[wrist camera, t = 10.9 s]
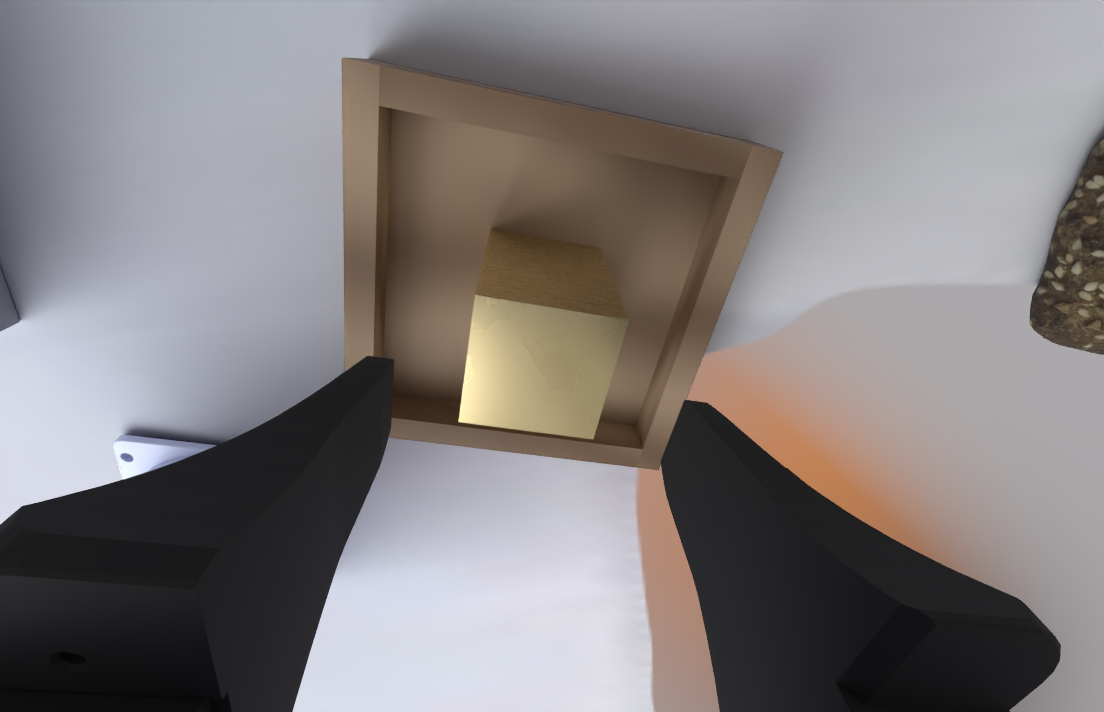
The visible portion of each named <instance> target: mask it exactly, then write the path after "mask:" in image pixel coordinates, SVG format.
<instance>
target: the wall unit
mask: <svg viewBox="0 0 1104 712" xmlns="http://www.w3.org/2000/svg"><path fill="white" fill-rule="evenodd" d="M18 322H20V320H19V318H18V315H17V312H16V309H15V306H14V304H13V301H12V298H11V295H10V293H9V290H8V287H7V284H6V282H5V279H4V276H3V273H2V271H1V268H0V331H2V330H4V329H6V328H8V327H10V326H12V325H14V324H16V323H18Z"/></svg>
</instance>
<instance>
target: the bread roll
mask: <svg viewBox="0 0 1104 712" xmlns="http://www.w3.org/2000/svg"><path fill="white" fill-rule="evenodd" d="M1030 325H1031V326H1032V328H1033V329H1034V330H1035V331H1036V332H1037V333H1038V334H1040V335H1041V336H1043V338H1046V339H1048V340H1050V341H1051V342H1053V343H1056V344H1058V345H1062V346H1066V347H1071V348H1076V349H1079V350H1084V351H1088V352H1091V353H1097V354H1102V355H1103V354H1104V138H1103V139H1101V140H1100V141H1099V142H1098V143H1097V144H1096V145H1095V146H1094V148H1093V149H1092V150H1091V153H1090V155H1089V157H1088V159H1087V162H1086V164H1085V166H1084V168H1083V171H1082V173H1081V175H1080V177H1079V180H1078V182H1077V184H1076V186H1075V188H1074V191H1073V193H1072V195H1071V197H1070V198H1069V200H1068V202H1067V204H1066V205H1065V207H1064V209H1063V210H1062V212H1061V214H1060V216H1059V217H1058V220H1057V224H1056V227H1055V230H1054V234H1053V237H1052V241H1051V245H1050V250H1049V255H1048V258H1047V262H1046V266H1045V269H1044V272H1043V274H1042V277H1041V280H1040V282H1039V284H1038V286H1037V288H1036V290H1035V291H1034V293H1033V296H1032V301H1031V307H1030Z"/></svg>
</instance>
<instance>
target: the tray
mask: <svg viewBox="0 0 1104 712" xmlns="http://www.w3.org/2000/svg"><path fill="white" fill-rule="evenodd" d="M342 119H343V214H344V309H345V371H347V370H348V369H349V368H351V367H352V366H353V365H355V364H356V363H358V362H359V361H361V360H362V359H363V358H365V357H366V356H375V357H382V358H389V359H394V376H393V398H392V420H391V430H390V434H389V437H390V438H398V439H406V440H415V441H423V442H431V443H439V444H448V445H456V446H464V447H472V448H481V449H489V450H497V451H505V452H514V453H522V454H530V455H538V456H547V457H555V458H563V459H571V460H580V461H588V462H596V463H604V464H613V465H621V466H629V467H638V468H647V469H654V470H659V468H660V465H661V459H662V456H663V453H664V451H665V448H666V446H667V443H668V441H669V438H670V435H671V433H672V430H673V428H674V425H675V423H676V420H677V417H678V415H679V412H680V410H681V407H682V405H683V402H684V400H686V399H687V396H688V394H689V391H690V389H691V386H692V384H693V381H694V379H695V376H696V373H697V371H698V368H699V366H700V363H701V361H702V358H703V356H704V353H705V351H706V348H707V345H708V343H709V340H710V338H711V335H712V333H713V330H714V328H715V325H716V323H717V320H718V317H719V315H720V312H721V310H722V307H723V305H724V302H725V300H726V297H727V294H728V292H729V289H730V287H731V284H732V282H733V279H734V277H735V274H736V272H737V269H738V266H739V264H740V261H741V259H742V256H743V254H744V251H745V249H746V246H747V244H748V241H749V238H750V236H751V233H752V231H753V228H754V226H755V223H756V221H757V218H758V215H759V213H760V210H761V208H762V205H763V203H764V200H765V198H766V195H767V193H768V190H769V187H770V185H771V182H772V180H773V177H774V175H775V172H776V170H777V167H778V165H779V162H780V159H781V157H782V154H783V152H781V151H778V150H775V149H772V148H769V147H766V146H763V145H760V144H757V143H754V142H750V141H746V140H741V139H736V138H732V137H727V136H723V135H718V134H713V133H709V132H704V131H699V130H695V129H690V128H685V127H681V126H676V125H671V124H667V123H662V122H657V121H653V120H648V119H643V118H639V117H634V116H630V115H625V114H620V113H616V112H611V111H606V110H602V109H597V108H592V107H588V106H583V105H578V104H574V103H569V102H564V101H560V100H555V99H551V98H546V97H541V96H537V95H532V94H527V93H523V92H518V91H513V90H509V89H504V88H499V87H495V86H490V85H485V84H481V83H476V82H472V81H467V80H462V79H458V78H453V77H448V76H444V75H439V74H434V73H430V72H425V71H420V70H416V69H411V68H406V67H402V66H397V65H393V64H388V63H383V62H379V61H374V60H369V59H358V58H342ZM491 228H493V229H499V230H504V231H510V232H515V233H521V234H526V235H532V236H537V237H543V238H548V239H554V240H559V241H565V242H570V243H576V244H581V245H587V246H592V247H598V248H601V251H602V253H603V256H604V258H605V261H606V263H607V266H608V268H609V271H610V273H611V276H612V278H613V281H614V283H615V286H616V288H617V291H618V293H619V296H620V298H621V301H622V303H623V306H624V308H625V311H626V314H627V316H628V319H629V322H628V326H627V329H626V332H625V336H624V339H623V342H622V346H621V349H620V352H619V356H618V359H617V362H616V366H615V369H614V372H613V376H612V379H611V382H610V386H609V389H608V392H607V396H606V399H605V402H604V406H603V409H602V412H601V415H600V419H599V422H598V425H597V429H596V432H595V435H594V439H585V438H578V437H570V436H562V435H554V434H547V433H539V432H531V431H524V430H516V429H508V428H501V427H493V426H485V425H478V424H470V423H462V422H458V421H459V413H460V406H461V398H462V390H463V383H464V375H465V367H466V360H467V352H468V344H469V337H470V329H471V321H472V314H473V306H474V298H475V293H476V288H477V284H478V280H479V276H480V271H481V267H482V263H483V259H484V254H485V250H486V246H487V241H488V237H489V233H490V229H491Z"/></svg>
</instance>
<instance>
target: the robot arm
mask: <svg viewBox="0 0 1104 712" xmlns="http://www.w3.org/2000/svg"><path fill="white" fill-rule="evenodd" d="M393 376H394V359H389V358H382V357H375V356H366V357H365V358H363V359H362V360H361V361H359V362H358V363H356V364H355V365H353V366H352V367H351V368H349V369H348V370H347V371H345V372H344V373H342V374H341V375H340V376H338V377H337V378H335V379H334V380H333V381H331V382H330V383H328V384H327V385H326V386H324V387H323V388H321V389H320V390H318V391H317V392H315V393H314V394H312V395H311V396H309V397H308V398H306V399H305V400H303V401H301V402H300V403H298V404H296V405H295V406H293V407H292V408H290V409H288V410H287V411H285V412H283V413H282V414H280V415H278V416H277V417H275V418H273V419H271V420H269V421H267V422H266V423H264V424H262V425H260V426H258V427H256V428H254V429H252V430H250V431H248V432H246V433H244V434H242V435H240V436H237V437H235V438H233V439H231V440H229V441H227V442H224V443H222V444H219V445H210V444H201V443H192V442H184V441H175V440H166V439H157V438H149V437H140V436H131V435H122V436H120V437H119V438H117V439H116V440H115V441H114V443H113V449H114V453H115V456H116V459H117V462H118V466H119V469H120V472H121V476H122V479H123V480H120V481H117V482H113V483H110V484H107V485H103V486H100V487H96V488H92V489H88V490H85V491H81V492H77V493H73V494H69V495H65V496H62V497H58V498H54V499H50V500H46V501H42V502H38V503H34V504H30V505H25V506H22V507H21V508H20V509H18V510H17V511H16V512H15V513H13V514H12V515H11V516H10V517H9V518H7V519H6V520H5V521H4V522H3V523H2V524H1V525H0V712H292V711H293V708H294V704H295V701H296V697H297V694H298V691H299V687H300V684H301V680H302V677H303V674H304V670H305V667H306V663H307V660H308V657H309V653H310V650H311V647H312V643H313V640H314V637H315V634H316V631H317V627H318V624H319V621H320V618H321V614H322V611H323V608H324V605H325V602H326V599H327V595H328V592H329V589H330V586H331V583H332V580H333V577H334V574H335V571H336V568H337V565H338V562H339V559H340V557H341V554H342V552H343V549H344V546H345V544H346V542H347V539H348V537H349V535H350V533H351V530H352V528H353V526H354V524H355V521H356V519H357V517H358V515H359V512H360V510H361V508H362V506H363V503H364V501H365V499H366V497H367V494H368V492H369V490H370V488H371V485H372V483H373V481H374V478H375V476H376V474H377V471H378V469H379V467H380V464H381V461H382V458H383V455H384V451H385V448H386V445H387V441H388V437H389V434H390V430H391V420H392V398H393ZM661 466H662V474H663V480H664V485H665V490H666V496H667V499H668V502H669V506H670V509H671V512H672V515H673V518H674V521H675V524H676V527H677V530H678V533H679V536H680V539H681V542H682V545H683V548H684V551H685V554H686V557H687V560H688V563H689V566H690V570H691V572H692V575H693V579H694V582H695V586H696V590H697V593H698V597H699V602H700V607H701V611H702V616H703V620H704V625H705V630H706V634H707V640H708V644H709V650H710V655H711V661H712V666H713V672H714V677H715V683H716V690H717V696H718V703H719V709H720V712H1010V711H1009V710H1010V709H1011V708H1012V707H1014V706H1015V705H1016V704H1017V703H1018V702H1020V701H1021V700H1022V699H1023V698H1025V697H1026V696H1027V695H1028V694H1029V693H1031V692H1032V691H1033V690H1034V689H1036V688H1037V687H1038V686H1039V685H1040V684H1042V683H1043V682H1044V681H1045V680H1046V679H1047V678H1048V677H1049V676H1050V675H1051V674H1052V673H1053V672H1054V670H1055V668H1056V666H1057V664H1058V663H1059V661H1060V649H1061V645H1060V643H1059V642H1058V640H1057V639H1056V637H1055V636H1054V635H1053V633H1052V632H1051V631H1050V630H1049V629H1048V628H1047V627H1046V626H1045V625H1044V624H1043V623H1042V622H1041V621H1040V620H1039V618H1038V617H1037V616H1036V615H1035V614H1034V613H1033V612H1032V611H1031V610H1030V609H1029V608H1028V607H1027V606H1026V605H1025V604H1024V603H1023V602H1022V601H1021V600H1019V599H1018V598H1016V597H1013V596H1011V595H1009V594H1007V593H1004V592H1002V591H1000V590H997V589H995V588H993V587H991V586H988V585H986V584H984V583H981V582H979V581H977V580H975V579H972V578H970V577H968V576H966V575H963V574H961V573H959V572H957V571H955V570H952V569H950V568H948V567H946V566H944V565H942V564H940V563H938V562H936V561H934V560H932V559H930V558H928V557H926V556H924V555H922V554H920V553H918V552H916V551H914V550H912V549H911V548H909V547H907V546H905V545H903V544H901V543H899V542H897V541H896V540H894V539H892V538H890V537H888V536H887V535H885V534H883V533H882V532H880V531H878V530H876V529H875V528H873V527H871V526H869V525H868V524H866V523H864V522H863V521H861V520H859V519H858V518H856V517H855V516H853V515H851V514H850V513H848V512H847V511H845V510H843V509H842V508H841V507H839V506H837V505H836V504H835V503H833V502H832V501H830V500H829V499H827V498H826V497H824V496H822V495H821V494H820V493H818V492H817V491H816V490H814V489H813V488H811V487H810V486H808V485H807V484H806V483H805V482H803V481H802V480H801V479H799V478H798V477H797V476H796V475H794V474H793V473H792V472H790V471H789V470H788V469H787V468H785V467H784V466H783V465H781V464H780V463H779V462H778V461H777V460H775V459H774V458H773V457H772V456H770V455H769V454H768V453H767V452H766V451H764V450H763V449H762V448H761V447H760V446H759V445H757V444H756V443H755V442H754V441H753V440H752V439H750V438H749V437H748V436H747V435H746V434H744V433H743V432H742V431H741V430H740V429H739V428H738V427H737V426H735V425H734V424H733V423H732V422H731V421H730V420H728V419H727V418H726V417H725V416H724V415H722V414H721V413H720V412H719V411H717V410H716V409H715V408H714V407H712V406H711V405H709V404H708V403H704V402H697V401H690V400H684V402H683V405H682V407H681V410H680V412H679V415H678V417H677V420H676V423H675V425H674V428H673V430H672V433H671V435H670V438H669V441H668V443H667V446H666V448H665V451H664V453H663V456H662V459H661Z"/></svg>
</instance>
